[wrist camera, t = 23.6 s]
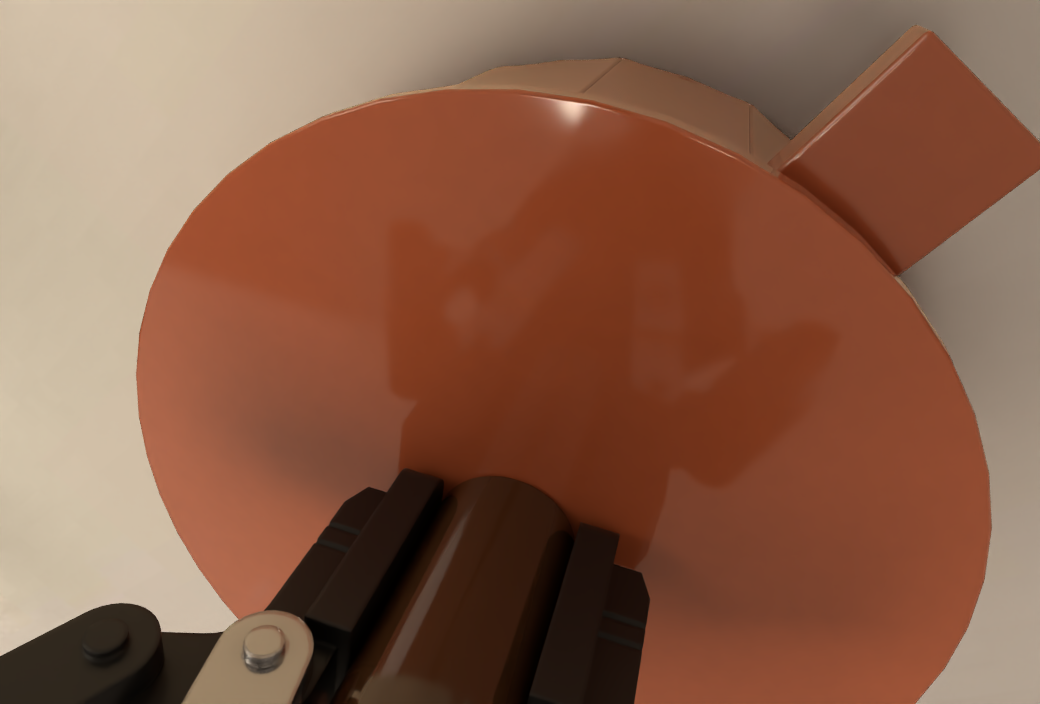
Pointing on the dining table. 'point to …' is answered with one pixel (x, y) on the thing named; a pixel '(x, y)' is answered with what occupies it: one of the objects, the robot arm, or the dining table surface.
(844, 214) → the pot
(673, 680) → the lid
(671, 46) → the dining table surface
